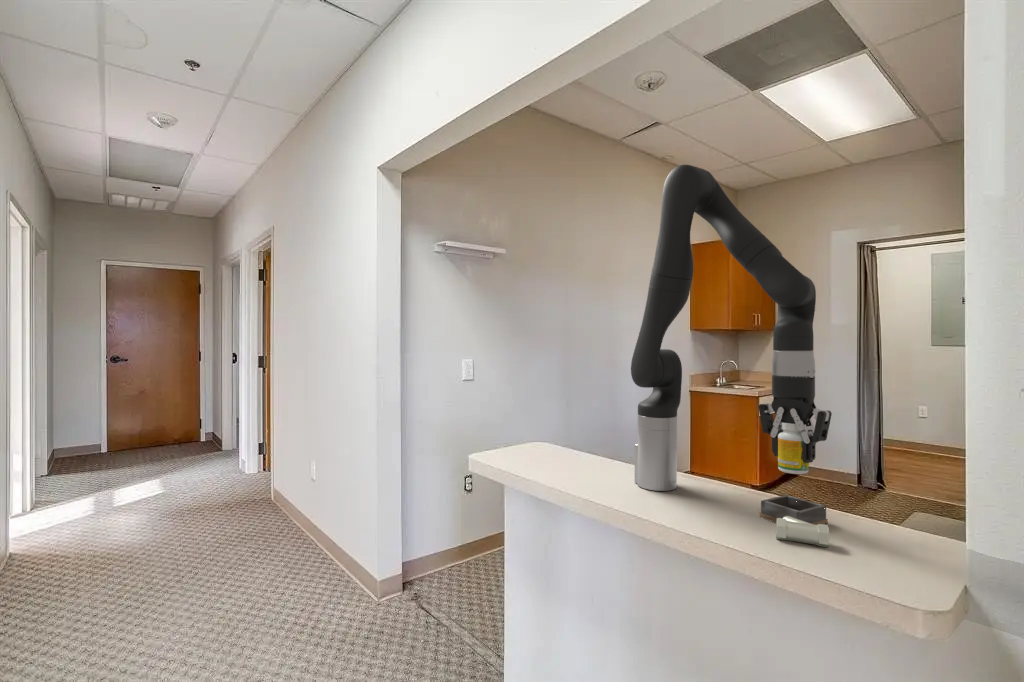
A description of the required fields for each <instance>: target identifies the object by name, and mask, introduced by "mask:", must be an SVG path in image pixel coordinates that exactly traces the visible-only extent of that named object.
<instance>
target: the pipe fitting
mask: <svg viewBox="0 0 1024 682" xmlns="http://www.w3.org/2000/svg"><path fill="white" fill-rule="evenodd" d="M775 530H776V532H775V533H776V538H775V539H776V540H780V539H781V541H792V542H799V543H804V544H808V545H815V546H818V547H823V548H829V547H830V529H829V525H828V524H818V525H813V524H810V523H807V522H804V521H802V520H799V519H796V518H793V517H790V516H786V517H784V518H777V523H776V529H775Z"/></svg>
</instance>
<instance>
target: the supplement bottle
mask: <svg viewBox="0 0 1024 682" xmlns="http://www.w3.org/2000/svg"><path fill="white" fill-rule="evenodd" d="M804 426H806V425H804ZM781 428H782V430H783V432H780V433H779V435H778V457H777V468H778V470H779V471H781V472H782V473H786V474H790V475H791V474H793V475H804V474H805V475H807V474H808V473H809V469H810V468H809V467H810V466H809V464H810V463H805V462H803V443H805V442H804V440H803V438H802V435H801V433H800V432H799V431H798V429H797V426H796V424H791V423H785V422H782V427H781Z"/></svg>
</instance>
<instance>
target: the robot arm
mask: <svg viewBox="0 0 1024 682" xmlns="http://www.w3.org/2000/svg"><path fill="white" fill-rule="evenodd" d="M661 196H662V197H661V209H660V222H659V230H658V235H657V236H658V237H657V241H656V246H655V252H654V258H653V259H654V260H653V263H652V264H653V265H652V268H651V273H650V278H649V284H648V289H647V290H648V291H647V295H646V296H647V297H646V302H645V307H644V313H643V317H642V320H641V321H642V322H641V325H640V330H639V331H638V336H637V339H636V343H635V347H634V349H633V354H632V358H631V364H630V375H631V379H632V381H633V383H634V384H635V386H638V387H640V388H647V389H648V388H651V389H652V392H651V393H650V395H649V396H648V397H646V398H645V399H644V400H642V401H640V402H639V403H638V404H637V443H636V444H634V483H635V484H636V485H637V486H638V487H639V488H642V489H645V490H650V491H656V492H657V491H658V492H667V491H674V490H676V489H677V485H678V484H677V482H678V481H677V480H678V477H677V476H678V409H679V406H680V405H681V397H682V383H683V381H682V380H683V366H682V365H683V364H682V360H681V359H680V356H679V354H677V353H678V352H676V351H674V350H672V349H667V348H663V349H662V344H663V341H664V337H665V334H666V332H667V331H668V328H670V326H671V325H672V323H673V321H675V319H676V317H678V315H679V314H680V313H681V311H682V309H683V308H684V307H685V305H686V303H687V302H688V300H689V296H690V292H691V288H692V287H691V286H692V282H693V275H694V257H693V251H692V244H691V243H692V242H691V229H692V223H693V219H694V214H697V215H698V216H700V217H701V218H702V219H704V220H705V221H706V222H707V223H708V224H709V225H710V226H711V227H712V228H713V229H714V230H715V231H716V233H717V234H718V236H719V238H720V240H721V241H722V243H723V245H724V246H725V248H726V249H727V251H728V252H729V254H730V255H731V256H732V257H733V258H734V260H736V261H737V262H738V263H739V264H740V266H742V267H743V269H745V270H746V272H748V273H749V274H750V275H751V276H752V277H753V278H754V279H755V280H756V282H757V283H758V284H759V285H760V288H761V289H762V290H764V292H765V293H766V294H767V295H768V297H770V298H771V300H772V301H773V302H774V303H776V304H777V319H776V320H777V321H776V323H775V325H774V327H773V334H772V335H773V336H772V337H773V338H772V341H773V343H772V351H773V352H772V357H771V358H772V360H771V395H772V397H773V400H772V402H771V403H760V404H759V405H758V411H759V412H758V413H759V416H760V417H759V418H760V423H761V429H762V432H763V433H764V434H768V435H769V436H770V437H771V450H772V453H773V455H774V457H777V458H778V435H779V433H780V432H783V430H782V428H781V427H782V422H785V423H791V424H796V426H797V429H798V431H799V432H800V433H801V435H802V438H803V440H804V442H805V443H803V462H805V463H809V464H810V463H812V462H814V460H816V444H817V443H818V442H825V441H827V438H828V435H829V430H830V429H829V428H830V424H831V419H832V411H831V410H829V409H827V410H824V409H820V408H817V406H816V404H815V397H816V359H815V354H814V327H813V326H814V318H815V311H816V299H817V292H816V291H817V289H816V286H815V283H814V281H812V279H811V278H810V277H808V276H806V275H804V273H802V272H801V271H800V270H798V269H797V268H796V267H795V266H794V265H793V264H792V263H790V262H789V260H788V259H786V258H785V257H784V256H783V254H782V252H781V251H780V250H779V249H778V247H777V246H775V244H774V243H773V242H772V241H771V240H770V239H769V238H768V237H766V236H765V235H764V234H763V233H762V232H761V231H760V230H759V228H757V227H756V226H755V225H754V224H753V223H752V222H751V221H749V220H748V218H747V217H746V216H744V215H743V213H742V212H741V211H740V210H739V209H738V208H737V207H736V206H735V204H734V203H733V202H732V201H731V200H730V198H729V197H728V195H727V194H726V192H725V191H724V190H723V189H722V187H721V186H720V184H719V182H718V181H717V180H716V178H715V177H714V175H713V174H712V173H711V172H710V171H708V170H706V169H704V168H700V167H698V166H694V165H690V164H680V165H677V166H676V167H674V168H673V169H672V170H671V171H670V172H669V173H668V175H667V177H666V178H665V180H664V184H663V188H662V195H661ZM773 413H775V418H774V415H773ZM813 416H814V419H815V425H814V423H813V420H812V418H813ZM804 425H805V426H804Z"/></svg>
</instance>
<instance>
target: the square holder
mask: <svg viewBox="0 0 1024 682" xmlns="http://www.w3.org/2000/svg"><path fill="white" fill-rule="evenodd" d="M796 501H797V502H796ZM824 508H825V509H824ZM758 515H759V518H762V517H763V518H762V519H764V520H767V519H768V521H770V520H771V522H773V521H774V523H776V524H777V518H784V517H786V516H790V517H793V518H796V519H799V520H802V521H804V522H807V523H810V524H813V525H818V524H824V525H826V524H828V523H829V521H828V518H827V505H823V504H820V503H817V502H814V501H810V500H806V499H803V498H799V497H795V496H792V495H788V494H785V495H779V496H774V497H771V498H767V499H762V500H760V512H759V513H758ZM825 523H826V524H825Z"/></svg>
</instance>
